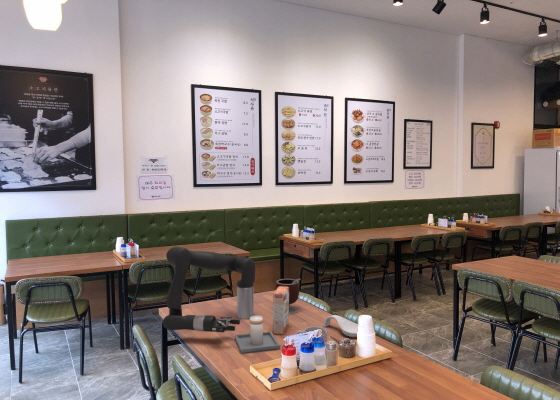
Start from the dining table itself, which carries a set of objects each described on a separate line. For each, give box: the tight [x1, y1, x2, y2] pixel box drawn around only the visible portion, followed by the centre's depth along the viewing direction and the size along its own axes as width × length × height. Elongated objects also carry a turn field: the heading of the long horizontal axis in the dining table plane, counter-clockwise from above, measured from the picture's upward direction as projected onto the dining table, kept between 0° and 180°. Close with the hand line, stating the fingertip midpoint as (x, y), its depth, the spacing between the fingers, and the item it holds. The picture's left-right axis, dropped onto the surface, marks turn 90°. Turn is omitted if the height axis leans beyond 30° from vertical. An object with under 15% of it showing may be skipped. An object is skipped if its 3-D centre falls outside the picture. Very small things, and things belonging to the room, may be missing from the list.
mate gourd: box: [274, 278, 301, 315], centre depth 256 cm, size 16×14×20 cm
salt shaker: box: [249, 315, 264, 345], centre depth 208 cm, size 6×6×12 cm
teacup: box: [296, 325, 328, 343], centre depth 205 cm, size 14×11×8 cm
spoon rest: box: [322, 314, 359, 338], centre depth 223 cm, size 24×12×7 cm, turn 44°
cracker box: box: [272, 286, 290, 335], centre depth 226 cm, size 14×6×21 cm, turn 168°
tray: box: [234, 330, 281, 355], centre depth 208 cm, size 18×18×2 cm
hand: (237, 325), depth 209 cm, fingers open, 8 cm apart
